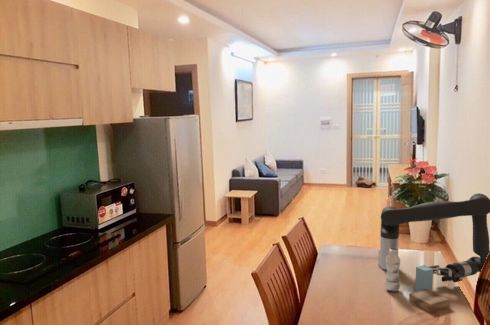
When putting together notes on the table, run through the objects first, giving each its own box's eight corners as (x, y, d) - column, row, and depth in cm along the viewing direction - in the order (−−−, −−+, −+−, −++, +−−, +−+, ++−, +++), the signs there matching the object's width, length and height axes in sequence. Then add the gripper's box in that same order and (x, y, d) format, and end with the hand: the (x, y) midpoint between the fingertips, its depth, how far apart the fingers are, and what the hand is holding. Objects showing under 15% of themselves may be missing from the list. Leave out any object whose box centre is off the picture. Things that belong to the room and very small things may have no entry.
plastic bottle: (390, 294, 173) (392, 251, 171) (381, 288, 179) (383, 247, 177) (402, 292, 174) (404, 250, 172) (393, 286, 181) (394, 246, 179)
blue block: (415, 291, 175) (416, 266, 174) (422, 289, 177) (424, 265, 176) (423, 296, 170) (425, 270, 169) (431, 294, 172) (433, 269, 171)
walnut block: (409, 302, 166) (409, 293, 165) (427, 297, 170) (427, 289, 170) (430, 313, 156) (431, 304, 155) (449, 308, 160) (449, 299, 160)
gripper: (445, 258, 188) (422, 263, 182) (472, 268, 175) (448, 273, 169) (445, 272, 189) (421, 278, 182) (471, 283, 176) (447, 289, 169)
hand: (434, 275), depth 176 cm, fingers open, 8 cm apart
